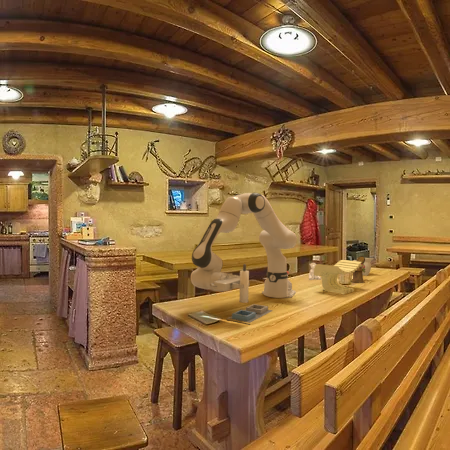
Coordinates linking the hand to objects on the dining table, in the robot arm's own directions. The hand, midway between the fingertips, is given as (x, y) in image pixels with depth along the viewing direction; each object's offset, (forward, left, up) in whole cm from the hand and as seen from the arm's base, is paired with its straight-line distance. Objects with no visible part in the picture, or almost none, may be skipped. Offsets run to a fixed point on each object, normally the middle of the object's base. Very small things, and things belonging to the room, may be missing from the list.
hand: (245, 285), depth 168 cm
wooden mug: (-129, +21, -16) cm, 131 cm away
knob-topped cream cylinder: (0, -1, -7) cm, 8 cm away
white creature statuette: (-119, -9, -16) cm, 120 cm away
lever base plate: (-7, -1, -16) cm, 17 cm away
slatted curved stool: (-89, +17, -16) cm, 92 cm away
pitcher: (-161, +17, -16) cm, 162 cm away
